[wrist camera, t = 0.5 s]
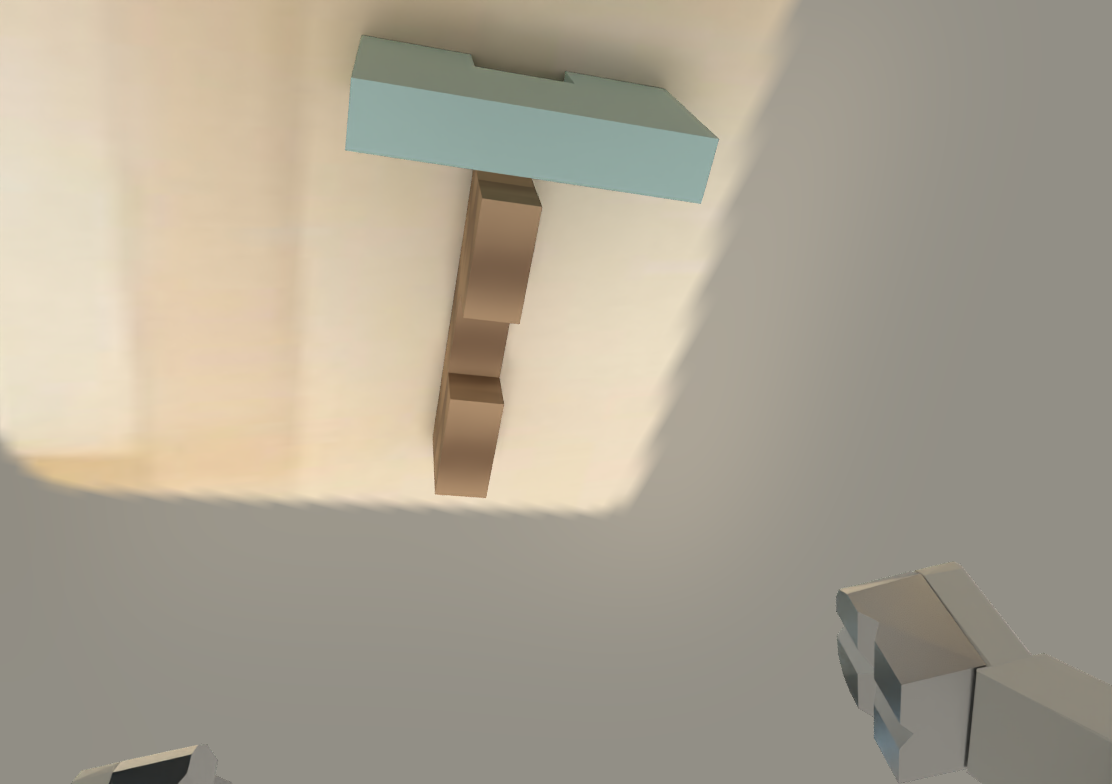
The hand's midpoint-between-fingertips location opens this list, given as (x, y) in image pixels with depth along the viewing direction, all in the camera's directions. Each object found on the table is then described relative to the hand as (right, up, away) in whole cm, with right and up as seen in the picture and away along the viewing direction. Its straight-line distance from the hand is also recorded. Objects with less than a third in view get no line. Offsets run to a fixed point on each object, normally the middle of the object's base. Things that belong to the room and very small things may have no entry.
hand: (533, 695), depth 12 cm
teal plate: (-2, +20, +36) cm, 41 cm away
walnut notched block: (-4, +9, +42) cm, 43 cm away
